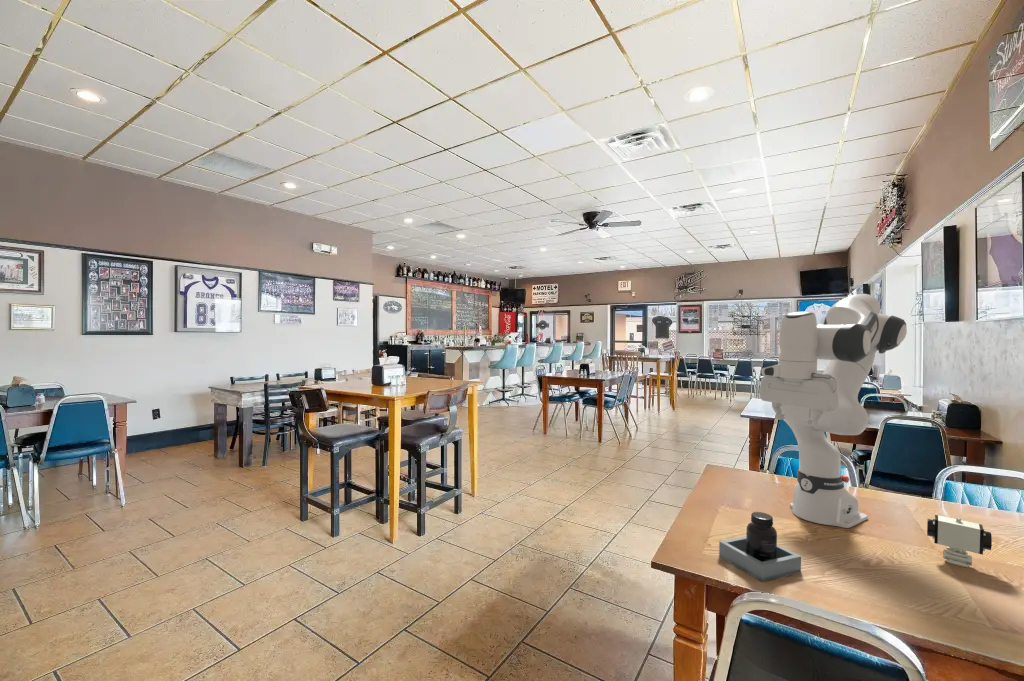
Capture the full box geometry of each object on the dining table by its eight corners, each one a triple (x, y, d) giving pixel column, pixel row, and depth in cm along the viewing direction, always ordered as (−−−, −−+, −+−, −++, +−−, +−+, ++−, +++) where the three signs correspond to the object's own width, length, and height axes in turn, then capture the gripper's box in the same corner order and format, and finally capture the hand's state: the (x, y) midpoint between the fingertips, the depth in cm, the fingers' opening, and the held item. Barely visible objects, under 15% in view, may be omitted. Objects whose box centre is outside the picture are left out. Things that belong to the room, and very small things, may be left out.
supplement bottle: (740, 555, 118) (741, 510, 118) (765, 555, 118) (766, 509, 118) (756, 569, 111) (757, 521, 111) (782, 568, 111) (783, 520, 111)
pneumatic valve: (990, 575, 111) (992, 527, 111) (926, 558, 119) (927, 513, 119) (988, 567, 115) (990, 520, 115) (926, 551, 123) (927, 508, 123)
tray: (755, 548, 124) (755, 534, 123) (800, 572, 111) (801, 556, 111) (719, 556, 119) (719, 541, 119) (762, 582, 107) (762, 565, 107)
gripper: (845, 374, 113) (843, 429, 113) (772, 368, 132) (771, 415, 132) (828, 375, 111) (826, 431, 111) (756, 368, 130) (755, 416, 130)
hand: (795, 422), depth 122 cm, fingers open, 8 cm apart
